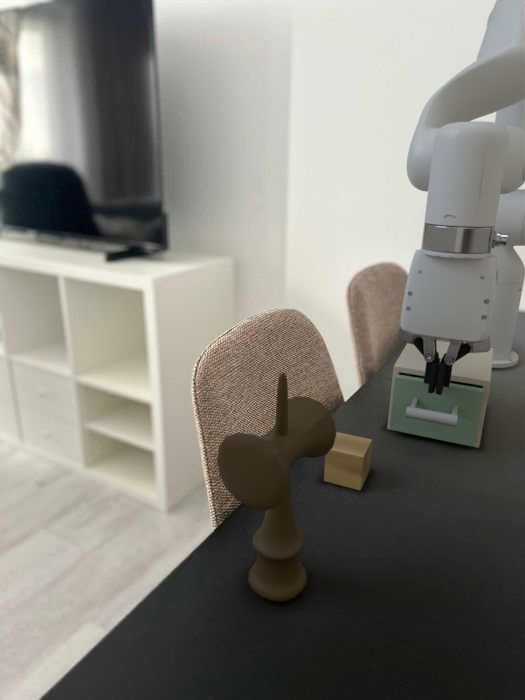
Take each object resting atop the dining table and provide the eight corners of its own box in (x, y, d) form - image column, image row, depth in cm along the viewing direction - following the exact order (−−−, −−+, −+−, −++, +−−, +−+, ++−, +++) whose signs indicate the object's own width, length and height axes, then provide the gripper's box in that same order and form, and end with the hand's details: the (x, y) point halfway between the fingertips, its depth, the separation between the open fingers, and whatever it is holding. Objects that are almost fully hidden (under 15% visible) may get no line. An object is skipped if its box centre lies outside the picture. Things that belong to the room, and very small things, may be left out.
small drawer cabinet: (479, 448, 68) (490, 381, 64) (387, 429, 72) (393, 365, 69) (483, 406, 80) (493, 348, 77) (404, 392, 84) (410, 337, 81)
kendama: (216, 604, 43) (211, 384, 36) (277, 539, 50) (282, 348, 44) (277, 639, 40) (283, 405, 33) (332, 564, 47) (346, 362, 41)
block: (334, 463, 64) (336, 431, 62) (369, 471, 62) (372, 439, 61) (323, 481, 60) (325, 448, 59) (360, 490, 58) (363, 457, 57)
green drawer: (472, 465, 62) (482, 406, 59) (382, 445, 66) (387, 390, 64) (479, 407, 77) (487, 359, 75) (405, 394, 82) (411, 348, 79)
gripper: (528, 242, 58) (501, 390, 64) (396, 234, 64) (382, 370, 70) (531, 250, 52) (500, 414, 58) (383, 240, 58) (369, 390, 64)
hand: (435, 390), depth 64 cm, fingers closed
